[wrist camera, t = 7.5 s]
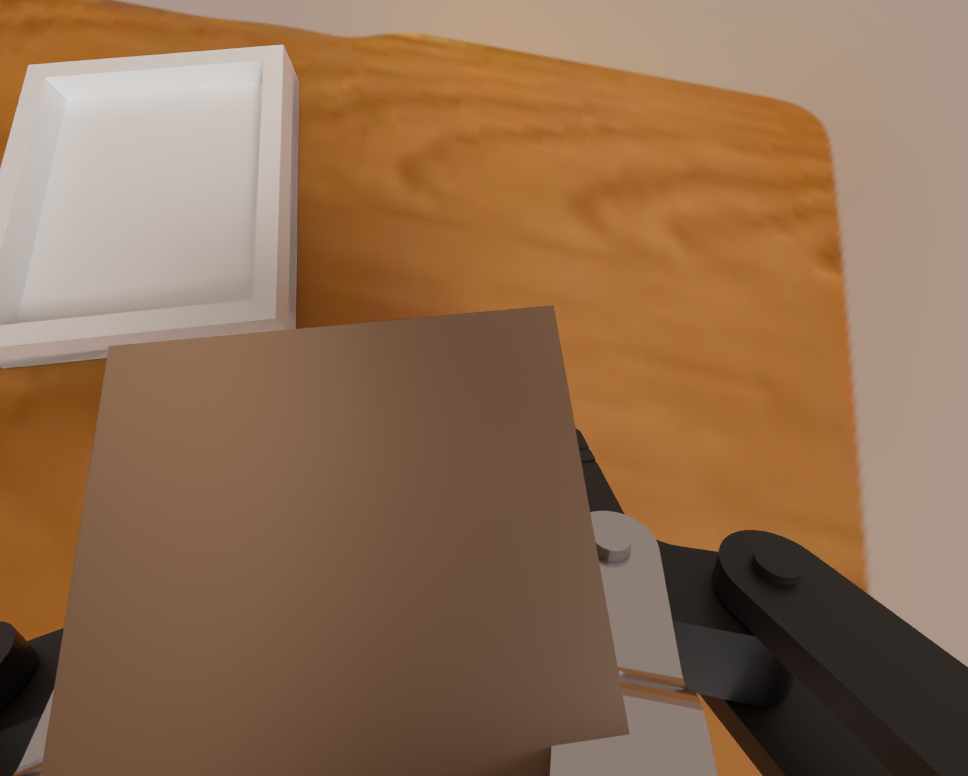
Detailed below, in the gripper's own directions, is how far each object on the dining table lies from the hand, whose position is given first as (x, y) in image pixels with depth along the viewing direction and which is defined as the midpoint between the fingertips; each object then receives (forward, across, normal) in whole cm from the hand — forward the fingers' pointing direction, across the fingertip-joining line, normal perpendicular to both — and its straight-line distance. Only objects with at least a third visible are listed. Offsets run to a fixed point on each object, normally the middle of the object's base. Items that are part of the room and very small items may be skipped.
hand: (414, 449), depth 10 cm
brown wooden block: (+2, 0, +5) cm, 6 cm away
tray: (+17, +13, -5) cm, 22 cm away
